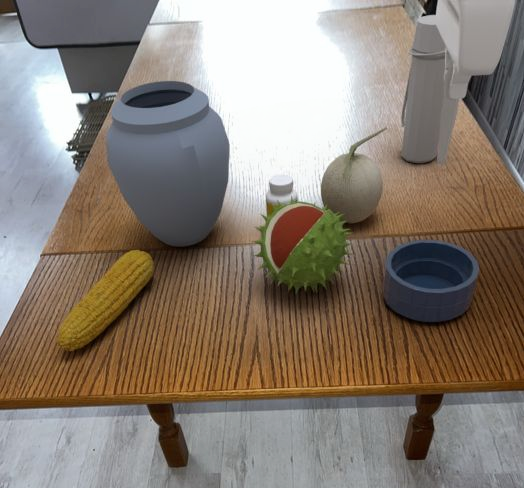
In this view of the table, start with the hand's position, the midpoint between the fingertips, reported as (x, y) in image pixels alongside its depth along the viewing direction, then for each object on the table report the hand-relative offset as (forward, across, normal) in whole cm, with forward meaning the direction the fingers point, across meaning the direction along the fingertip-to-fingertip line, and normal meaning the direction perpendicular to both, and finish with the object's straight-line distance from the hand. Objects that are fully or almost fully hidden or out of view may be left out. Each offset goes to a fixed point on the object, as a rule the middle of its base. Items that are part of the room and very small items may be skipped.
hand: (453, 90), depth 66 cm
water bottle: (+28, -42, +3) cm, 51 cm away
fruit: (+28, -18, -11) cm, 35 cm away
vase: (+28, -13, -40) cm, 50 cm away
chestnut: (+28, +1, -18) cm, 33 cm away
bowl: (+28, +5, 0) cm, 28 cm away
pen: (+9, 0, 0) cm, 9 cm away
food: (+28, +9, -47) cm, 55 cm away
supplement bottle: (+28, -14, -22) cm, 38 cm away
